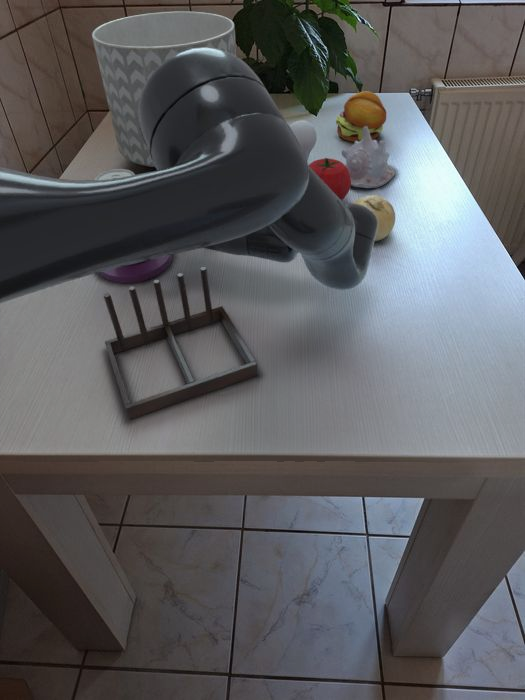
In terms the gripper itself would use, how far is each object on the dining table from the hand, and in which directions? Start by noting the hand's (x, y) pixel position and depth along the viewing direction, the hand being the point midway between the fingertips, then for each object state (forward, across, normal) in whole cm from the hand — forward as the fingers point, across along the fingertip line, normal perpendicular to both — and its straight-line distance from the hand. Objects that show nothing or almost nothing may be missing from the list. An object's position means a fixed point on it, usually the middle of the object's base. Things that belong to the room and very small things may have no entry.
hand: (125, 204), depth 72 cm
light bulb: (-14, -37, +10) cm, 41 cm away
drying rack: (-17, +18, +10) cm, 26 cm away
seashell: (-27, -40, +10) cm, 49 cm away
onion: (-32, -20, +10) cm, 39 cm away
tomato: (-22, -28, +10) cm, 37 cm away
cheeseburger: (-21, -58, +10) cm, 63 cm away
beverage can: (+1, 0, +8) cm, 8 cm away
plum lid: (+1, 0, +10) cm, 10 cm away
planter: (+11, -35, +10) cm, 38 cm away
